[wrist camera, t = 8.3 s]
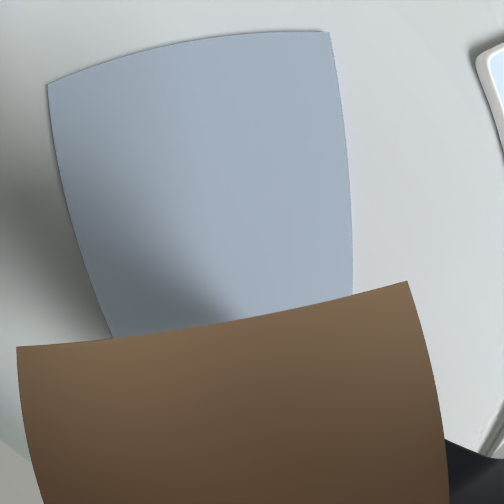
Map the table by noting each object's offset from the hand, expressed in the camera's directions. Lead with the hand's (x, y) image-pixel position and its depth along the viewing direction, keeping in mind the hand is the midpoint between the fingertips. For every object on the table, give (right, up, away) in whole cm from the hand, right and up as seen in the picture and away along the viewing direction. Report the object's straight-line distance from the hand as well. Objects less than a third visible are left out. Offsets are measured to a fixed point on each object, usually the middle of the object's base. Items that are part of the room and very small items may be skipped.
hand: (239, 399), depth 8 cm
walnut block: (0, -4, +6) cm, 7 cm away
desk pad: (-2, +6, +6) cm, 9 cm away
